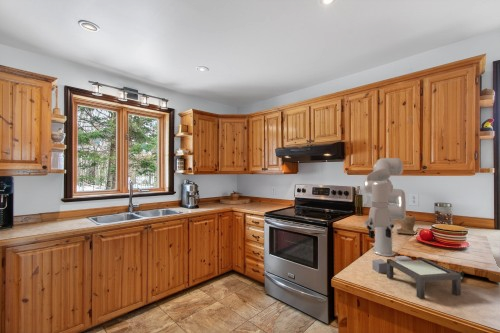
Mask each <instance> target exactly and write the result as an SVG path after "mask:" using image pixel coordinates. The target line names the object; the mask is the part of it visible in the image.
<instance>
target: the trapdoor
mask: <svg viewBox="0 0 500 333" xmlns="http://www.w3.org/2000/svg"><path fill="white" fill-rule="evenodd" d="M394 256H395V255H394ZM394 261H395V262H397V263H399V264H401V265H403V266H405V267H406V268H408V269H410V270H412V271H414V272H416V273H418V274H420V275H427V274H441V273H447V272H445V271H442V270H440V269H438V268H436V267H434V266H432V265H430V264H428V263H425V262H423V261H421V260H418V259H416V260H413V259H412V258H411V257H409V256H407V255H398V256H397V255H396V256H395V257H394Z"/></svg>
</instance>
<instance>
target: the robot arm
mask: <svg viewBox="0 0 500 333" xmlns="http://www.w3.org/2000/svg"><path fill="white" fill-rule="evenodd" d="M403 173H404V163H403V161H402V159H401V158H399V157H382V158H379V159H378V160H376V162H375V164H374V165H373V166H372V172H370V173H368V174H367V175H366V176H365V179H364V183H363V191H364V193H366V194H369V195H371V206H370V208H369V213H368V219H367V220H365V221H364V222H363V224H364V225H365V227H366V229H367V230H368V237H369V238H370V239H372V240H373V239H374V242H372V244H371V245H372V246H373V247H374V248H372V250H371V251H372V252H373V253H374V254H376V255H378V256H383V257H394V256H395V255H396V253H395V251H394V250H393V228H394V227H395V225H396V221H400V220H404V219H405V216H407V214H406V213H407V212H406V211H407V210H406V208H407V207H406V203H407V202H406V201H407V200H406V193H405V191H404V190H403V189H400V188H394V185H393V184H392V183H393V182H392V181H391V180H390V178H391V176H401V175H402V174H403Z"/></svg>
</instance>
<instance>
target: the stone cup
mask: <svg viewBox="0 0 500 333" xmlns="http://www.w3.org/2000/svg"><path fill="white" fill-rule="evenodd" d="M399 222H400V228H396V234H399V233H401V234H403V235H415V234H414V233H415V232H416V231H415V230H414V227H415V224H416V218H415V217H414V216H411V215H406V216H405V219H404V220H399Z"/></svg>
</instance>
